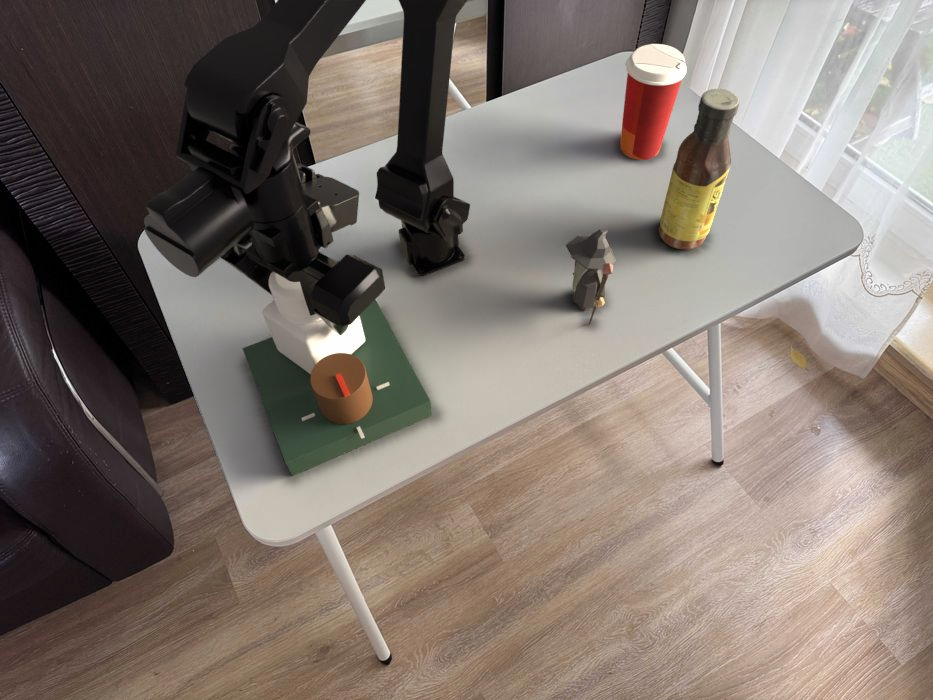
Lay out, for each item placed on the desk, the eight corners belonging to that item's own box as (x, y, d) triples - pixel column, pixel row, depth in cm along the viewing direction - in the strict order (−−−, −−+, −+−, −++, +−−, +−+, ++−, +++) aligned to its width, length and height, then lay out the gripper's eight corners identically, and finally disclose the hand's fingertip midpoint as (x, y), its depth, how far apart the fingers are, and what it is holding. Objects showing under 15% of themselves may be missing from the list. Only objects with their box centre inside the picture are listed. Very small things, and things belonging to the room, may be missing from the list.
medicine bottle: (323, 311, 83) (299, 236, 73) (367, 341, 80) (348, 267, 70) (276, 350, 80) (245, 277, 70) (321, 383, 77) (295, 311, 67)
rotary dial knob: (312, 391, 76) (301, 363, 72) (361, 371, 78) (353, 343, 73) (330, 432, 73) (320, 406, 69) (380, 411, 75) (373, 384, 70)
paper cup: (675, 141, 103) (698, 51, 92) (653, 171, 99) (674, 82, 88) (625, 123, 106) (641, 35, 94) (602, 153, 102) (616, 64, 91)
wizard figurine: (551, 293, 87) (559, 222, 77) (589, 275, 89) (601, 203, 79) (591, 340, 83) (605, 270, 73) (630, 320, 84) (648, 249, 75)
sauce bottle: (706, 255, 90) (752, 122, 74) (655, 249, 91) (690, 116, 75) (706, 219, 94) (751, 85, 78) (658, 213, 95) (692, 80, 78)
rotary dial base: (377, 313, 86) (374, 296, 84) (436, 421, 77) (434, 406, 75) (249, 363, 82) (241, 347, 80) (294, 483, 73) (287, 469, 71)
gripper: (413, 187, 62) (426, 300, 75) (260, 115, 69) (296, 231, 82) (329, 266, 57) (358, 374, 70) (172, 180, 64) (225, 293, 76)
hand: (309, 312), depth 75 cm, fingers open, 9 cm apart
